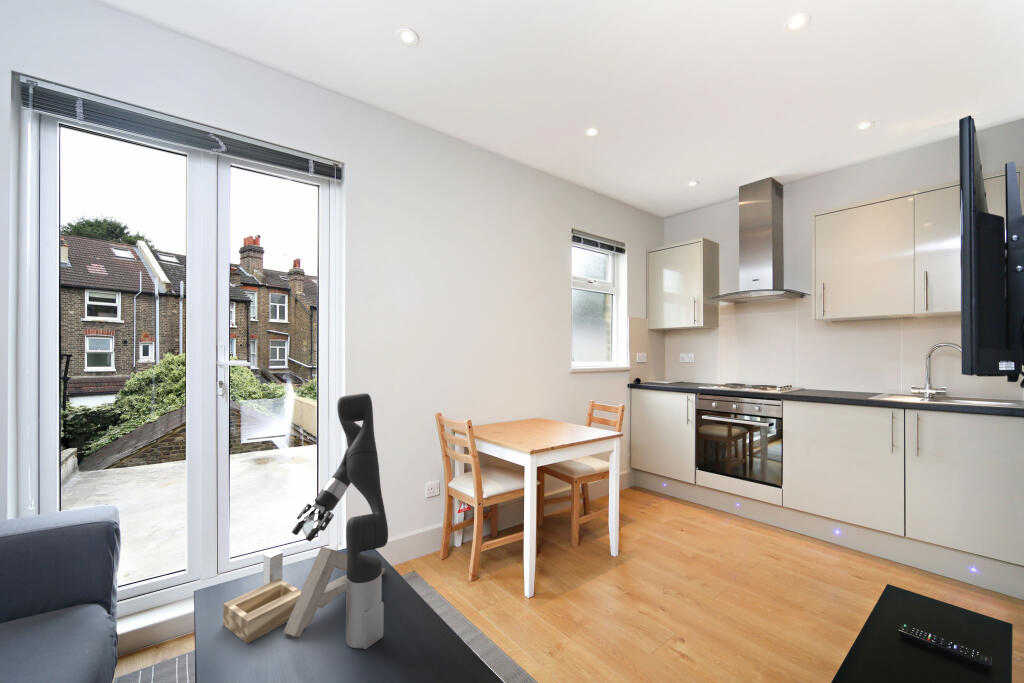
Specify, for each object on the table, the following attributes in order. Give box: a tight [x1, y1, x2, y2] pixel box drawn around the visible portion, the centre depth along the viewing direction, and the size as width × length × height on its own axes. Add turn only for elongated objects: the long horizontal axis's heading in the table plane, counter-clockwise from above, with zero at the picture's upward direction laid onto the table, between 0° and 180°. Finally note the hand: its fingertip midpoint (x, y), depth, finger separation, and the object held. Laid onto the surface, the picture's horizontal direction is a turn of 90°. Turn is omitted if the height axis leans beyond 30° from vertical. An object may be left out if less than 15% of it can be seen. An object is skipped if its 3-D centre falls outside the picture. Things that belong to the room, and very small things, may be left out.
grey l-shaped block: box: [262, 548, 284, 586], centre depth 134 cm, size 4×10×13 cm, turn 147°
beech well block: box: [222, 578, 302, 644], centre depth 124 cm, size 14×16×6 cm
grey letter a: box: [283, 546, 386, 638], centre depth 133 cm, size 22×4×30 cm
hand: (300, 537), depth 145 cm, fingers open, 8 cm apart
